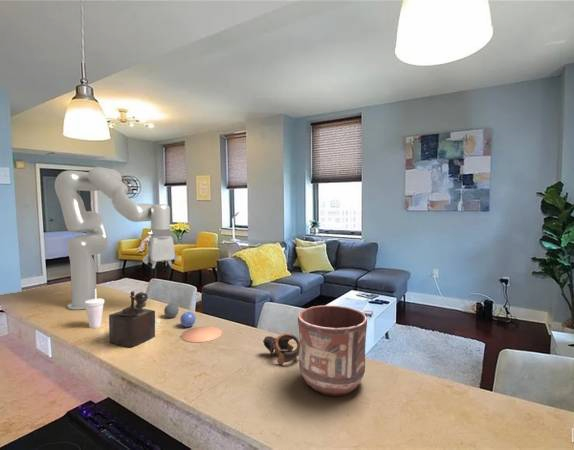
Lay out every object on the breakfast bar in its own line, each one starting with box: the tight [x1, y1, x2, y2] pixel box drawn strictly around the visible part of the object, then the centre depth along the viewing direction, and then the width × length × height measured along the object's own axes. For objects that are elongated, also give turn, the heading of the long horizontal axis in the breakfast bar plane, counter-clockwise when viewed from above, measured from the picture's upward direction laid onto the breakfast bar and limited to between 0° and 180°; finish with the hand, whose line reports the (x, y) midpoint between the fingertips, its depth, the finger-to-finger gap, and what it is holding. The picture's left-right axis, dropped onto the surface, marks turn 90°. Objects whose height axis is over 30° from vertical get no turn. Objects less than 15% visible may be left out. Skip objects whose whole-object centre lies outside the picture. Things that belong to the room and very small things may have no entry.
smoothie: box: [85, 288, 105, 329], centre depth 121 cm, size 6×6×14 cm
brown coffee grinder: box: [108, 290, 156, 348], centre depth 109 cm, size 16×11×18 cm
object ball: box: [179, 311, 197, 328], centre depth 122 cm, size 6×6×6 cm
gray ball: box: [163, 303, 180, 319], centre depth 132 cm, size 6×6×6 cm
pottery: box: [297, 304, 368, 397], centre depth 84 cm, size 18×18×18 cm
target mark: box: [180, 326, 223, 343], centre depth 115 cm, size 14×14×1 cm
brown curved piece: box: [262, 333, 300, 366], centre depth 98 cm, size 12×10×8 cm
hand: (161, 275), depth 138 cm, fingers open, 5 cm apart
